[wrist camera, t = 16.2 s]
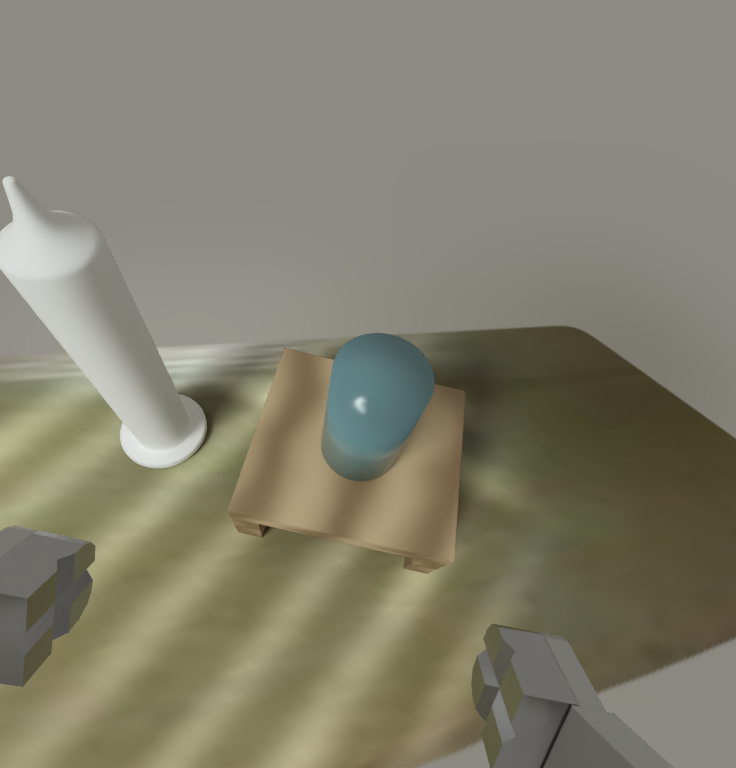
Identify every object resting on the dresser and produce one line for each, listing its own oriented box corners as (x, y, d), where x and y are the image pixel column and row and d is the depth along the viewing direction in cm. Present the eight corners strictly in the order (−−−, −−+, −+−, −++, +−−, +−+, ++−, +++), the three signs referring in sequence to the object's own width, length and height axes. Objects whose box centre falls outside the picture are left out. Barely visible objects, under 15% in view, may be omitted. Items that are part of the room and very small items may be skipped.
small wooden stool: (238, 531, 35) (227, 511, 29) (285, 388, 42) (284, 348, 36) (426, 573, 36) (454, 561, 30) (441, 424, 43) (465, 391, 37)
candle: (190, 385, 41) (81, 115, 20) (219, 446, 39) (128, 213, 17) (112, 415, 38) (-114, 142, 17) (137, 483, 36) (-92, 262, 15)
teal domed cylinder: (311, 470, 31) (320, 406, 23) (330, 401, 35) (344, 323, 26) (391, 489, 32) (428, 433, 23) (403, 419, 35) (439, 346, 26)
